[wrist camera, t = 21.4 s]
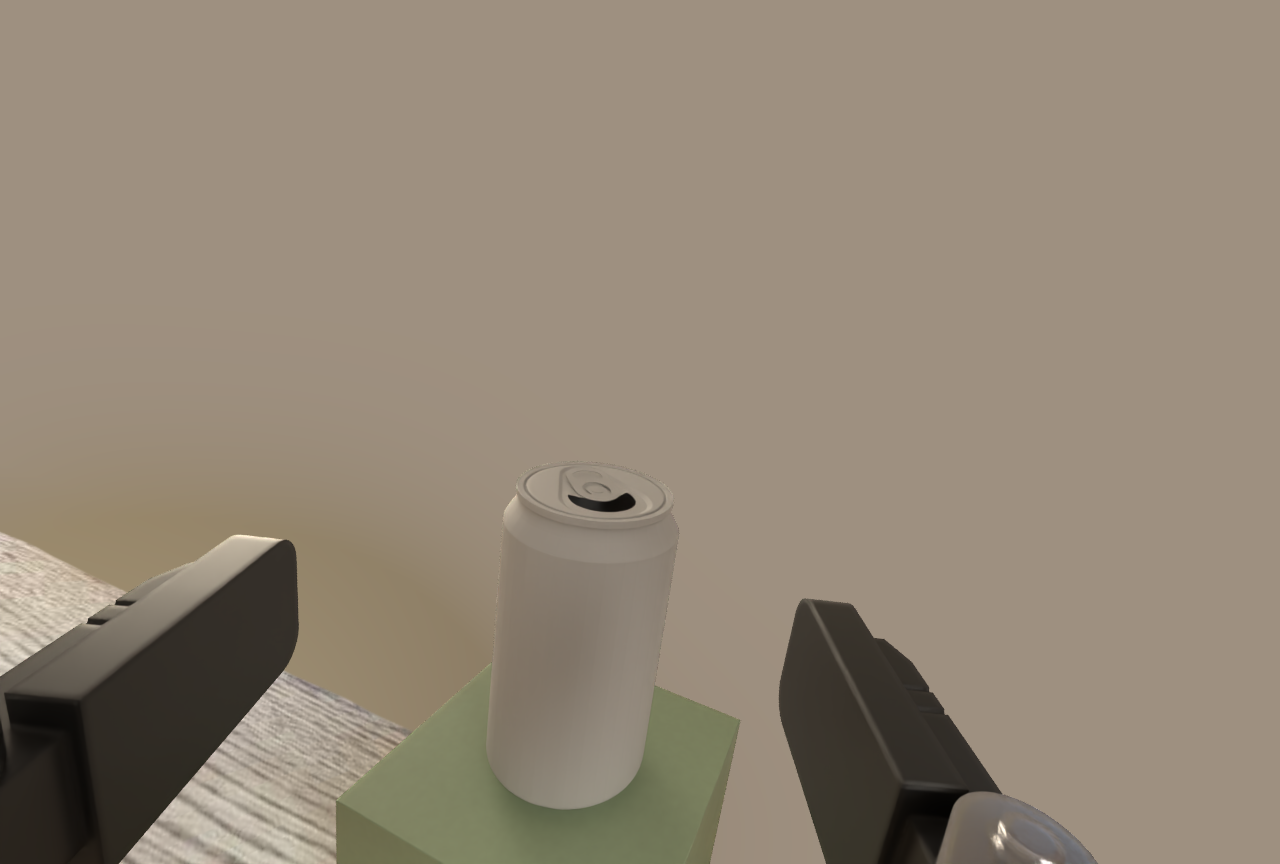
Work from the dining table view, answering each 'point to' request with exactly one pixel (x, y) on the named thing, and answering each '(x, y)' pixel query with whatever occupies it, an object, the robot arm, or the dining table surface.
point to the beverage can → (578, 630)
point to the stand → (524, 832)
